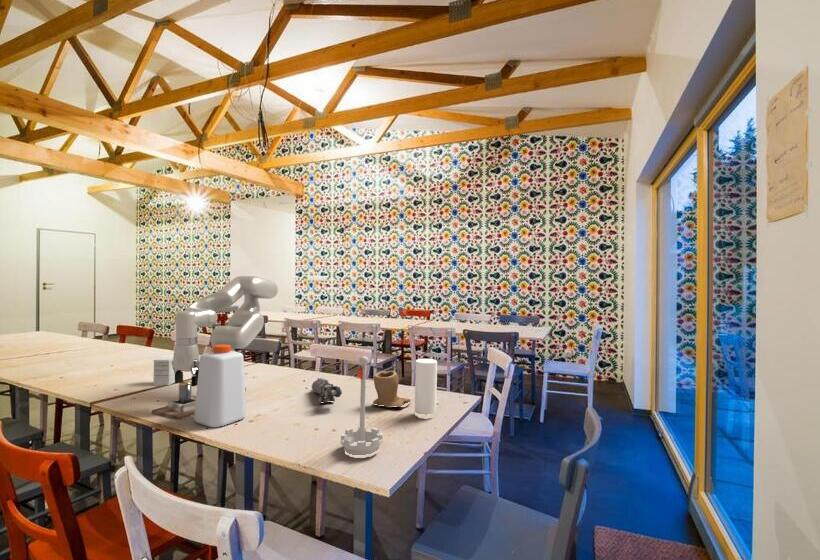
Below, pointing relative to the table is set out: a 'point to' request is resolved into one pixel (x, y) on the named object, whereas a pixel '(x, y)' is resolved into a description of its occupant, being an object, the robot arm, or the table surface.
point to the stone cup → (388, 389)
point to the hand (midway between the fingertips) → (187, 383)
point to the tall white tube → (425, 385)
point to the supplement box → (163, 371)
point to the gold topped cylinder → (185, 392)
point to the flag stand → (361, 425)
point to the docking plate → (177, 409)
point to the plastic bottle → (220, 387)
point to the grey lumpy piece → (326, 390)
